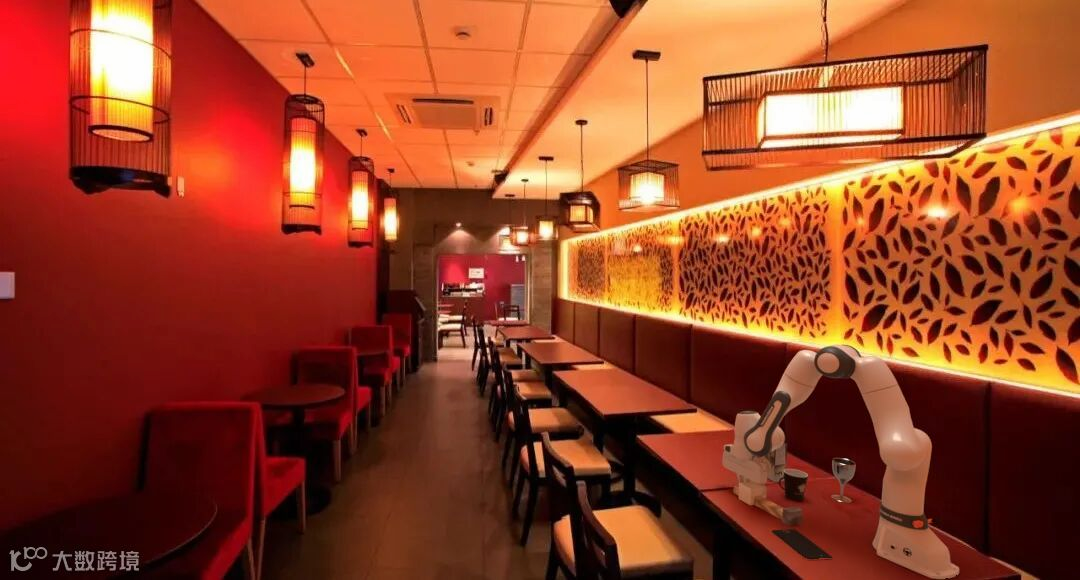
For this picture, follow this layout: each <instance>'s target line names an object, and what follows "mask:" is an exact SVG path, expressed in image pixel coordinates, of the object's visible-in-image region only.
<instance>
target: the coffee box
mask: <svg viewBox="0 0 1080 580" xmlns="http://www.w3.org/2000/svg"><path fill="white" fill-rule="evenodd" d="M787 455H788V443H786V442H784V444H783V445H782V446H781V447H779V448H778V449H776V450H774V451H772V452H770V453H768V454H767V455H766V456H763V457H760V459H762V460H764V462H765V464H766V469H767V480H769V481H772V482H773V483H779V480H780V479H781V478H782V477H784V470H785V469H787V457H788V456H787ZM781 482H784V479H782V480H781Z"/></svg>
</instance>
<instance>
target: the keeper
mask: <svg viewBox="0 0 1080 580" xmlns="http://www.w3.org/2000/svg"><path fill="white" fill-rule="evenodd" d="M738 485H739V496H738V500H740V501H742V502H744V503H745V504H747V505H748V506H755V505H754V498H755V496H762V497H763V498H765V499H767V491H768V486H766V485H765V484H757V483H755V482H753V481H751V480H750V481H749V482H744V483H739V482H738Z"/></svg>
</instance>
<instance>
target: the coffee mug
mask: <svg viewBox="0 0 1080 580" xmlns="http://www.w3.org/2000/svg"><path fill="white" fill-rule="evenodd" d="M808 477H809V475H808V473H807V472H805V471H802V470H799V469H796V468H795V469H794V468H786V469H785V470H784V477H782V478H781V479H780V480H779V482H778V486H779V487H780V488H781V489H782V490H784V496H785V498H786V499H787V500H789V501H793V502H799V503H801V502H803V501H804V497H805V492H806V487H807V482H808ZM782 479H784V481H783V482H784V486H783V485H782V484H781V482H782V481H781V480H782Z"/></svg>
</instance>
